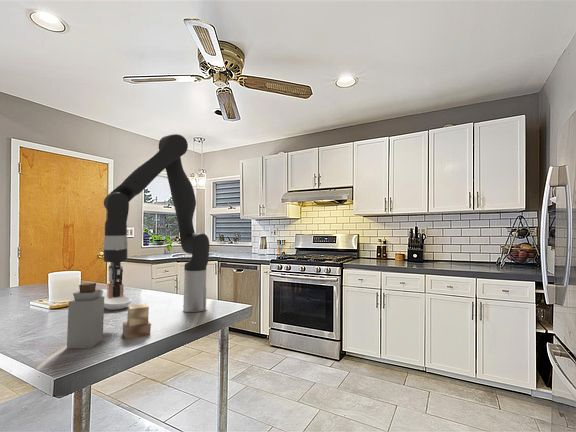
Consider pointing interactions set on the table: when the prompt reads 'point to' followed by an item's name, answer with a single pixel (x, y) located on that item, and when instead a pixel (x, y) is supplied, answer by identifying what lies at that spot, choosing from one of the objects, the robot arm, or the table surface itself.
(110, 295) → the block
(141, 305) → the tower cube
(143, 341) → the table surface
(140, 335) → the tower base
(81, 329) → the perfume bottle
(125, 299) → the spoon rest
